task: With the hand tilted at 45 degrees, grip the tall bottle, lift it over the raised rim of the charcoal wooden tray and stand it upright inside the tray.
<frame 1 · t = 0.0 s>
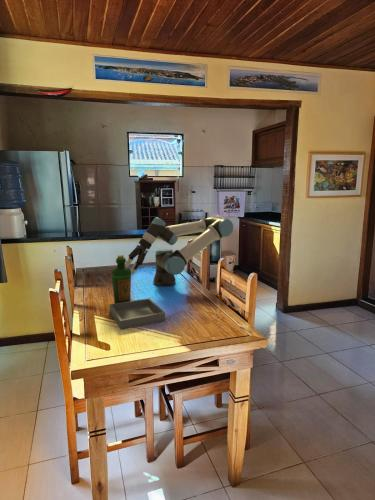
hand: (127, 270, 190), 15 cm above the table, tool tilted 35°, fingers open, 13 cm apart
bottle: (122, 304, 179), on the table
tray: (136, 316, 162), on the table
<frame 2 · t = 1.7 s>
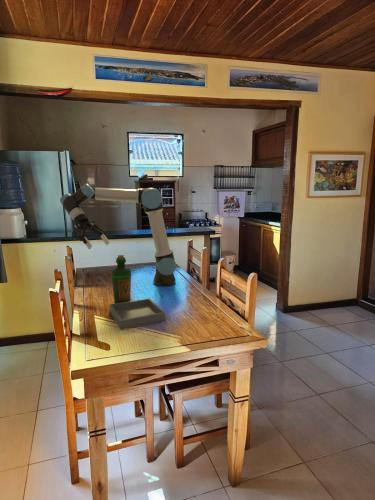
hand: (99, 245, 179), 32 cm above the table, tool tilted 45°, fingers open, 13 cm apart
nothing on the table moved.
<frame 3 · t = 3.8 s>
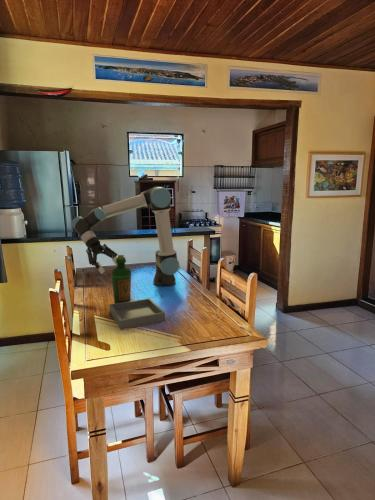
hand: (111, 269, 177), 19 cm above the table, tool tilted 45°, fingers open, 13 cm apart
nothing on the table moved.
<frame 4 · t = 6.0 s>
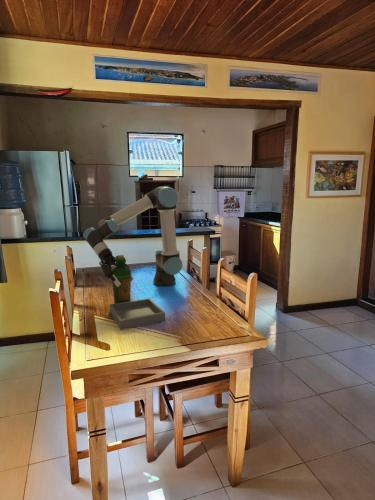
hand: (125, 282, 175), 13 cm above the table, tool tilted 45°, fingers closed on bottle, 10 cm apart
bottle: (122, 304, 179), on the table, touching gripper
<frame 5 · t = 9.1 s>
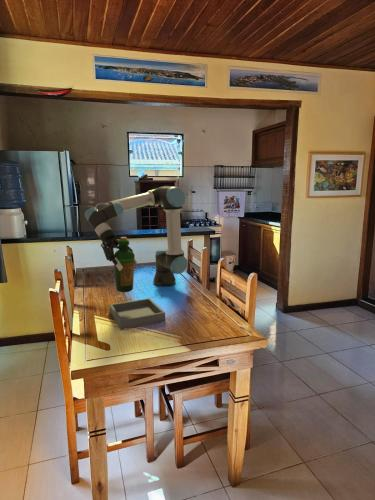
hand: (128, 266, 163), 25 cm above the table, tool tilted 45°, fingers closed on bottle, 10 cm apart
bottle: (124, 290, 167), point 12 cm above the table, touching gripper
when the fingers open (16 cm above the table, at t = 12.5 s): bottle drops 2 cm, resting on tray.
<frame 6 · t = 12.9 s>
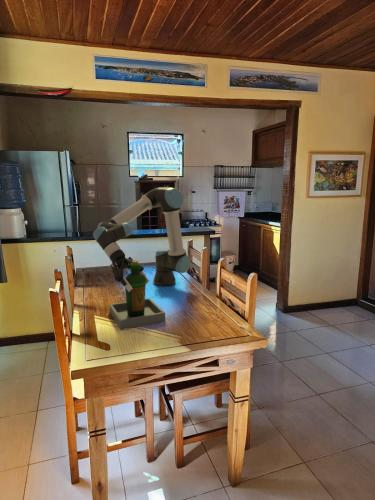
hand: (139, 286, 158), 17 cm above the table, tool tilted 45°, fingers open, 13 cm apart
bottle: (136, 314, 162), point 1 cm above the table, touching tray
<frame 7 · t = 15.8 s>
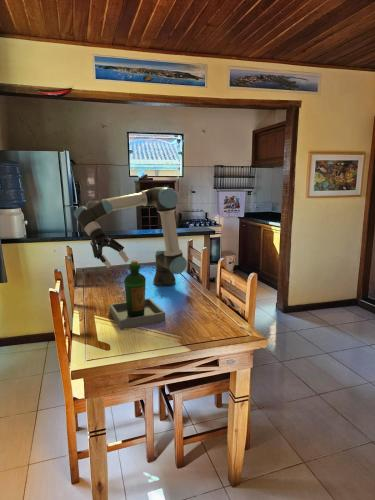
hand: (118, 263, 162), 27 cm above the table, tool tilted 45°, fingers open, 13 cm apart
nothing on the table moved.
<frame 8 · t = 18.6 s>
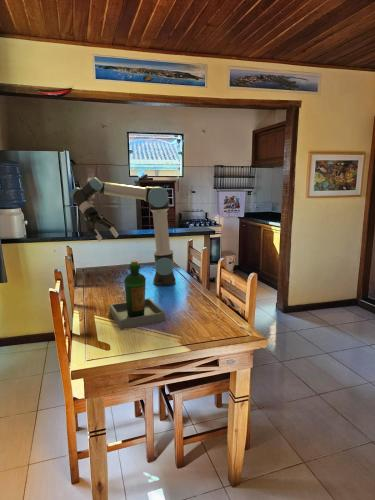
hand: (109, 238, 183), 36 cm above the table, tool tilted 45°, fingers open, 13 cm apart
nothing on the table moved.
at the end: bottle inside the target area on the tray (0.3 cm from its centre), point 1.0 cm above the tray's base; bottle tilted 0°; the gripper is holding nothing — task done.
